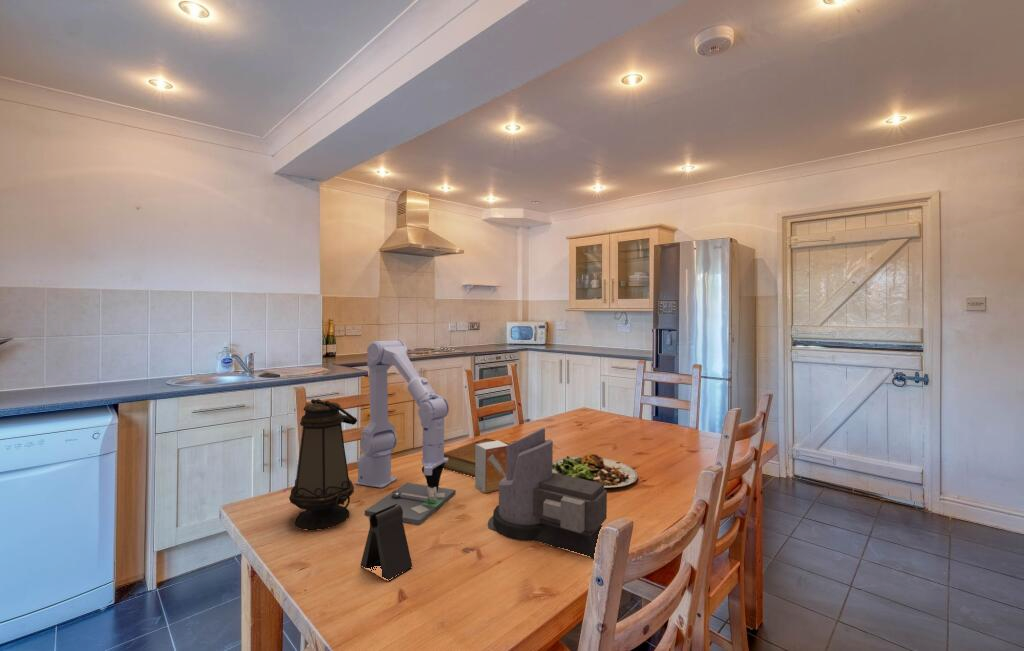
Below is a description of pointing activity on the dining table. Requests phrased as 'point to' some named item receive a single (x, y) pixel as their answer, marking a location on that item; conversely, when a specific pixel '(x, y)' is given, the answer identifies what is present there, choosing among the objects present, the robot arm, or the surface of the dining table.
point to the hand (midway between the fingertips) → (433, 492)
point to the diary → (464, 458)
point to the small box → (490, 465)
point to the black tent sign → (387, 543)
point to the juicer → (547, 500)
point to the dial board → (413, 503)
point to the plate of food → (596, 470)
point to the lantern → (322, 468)
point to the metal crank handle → (430, 496)
